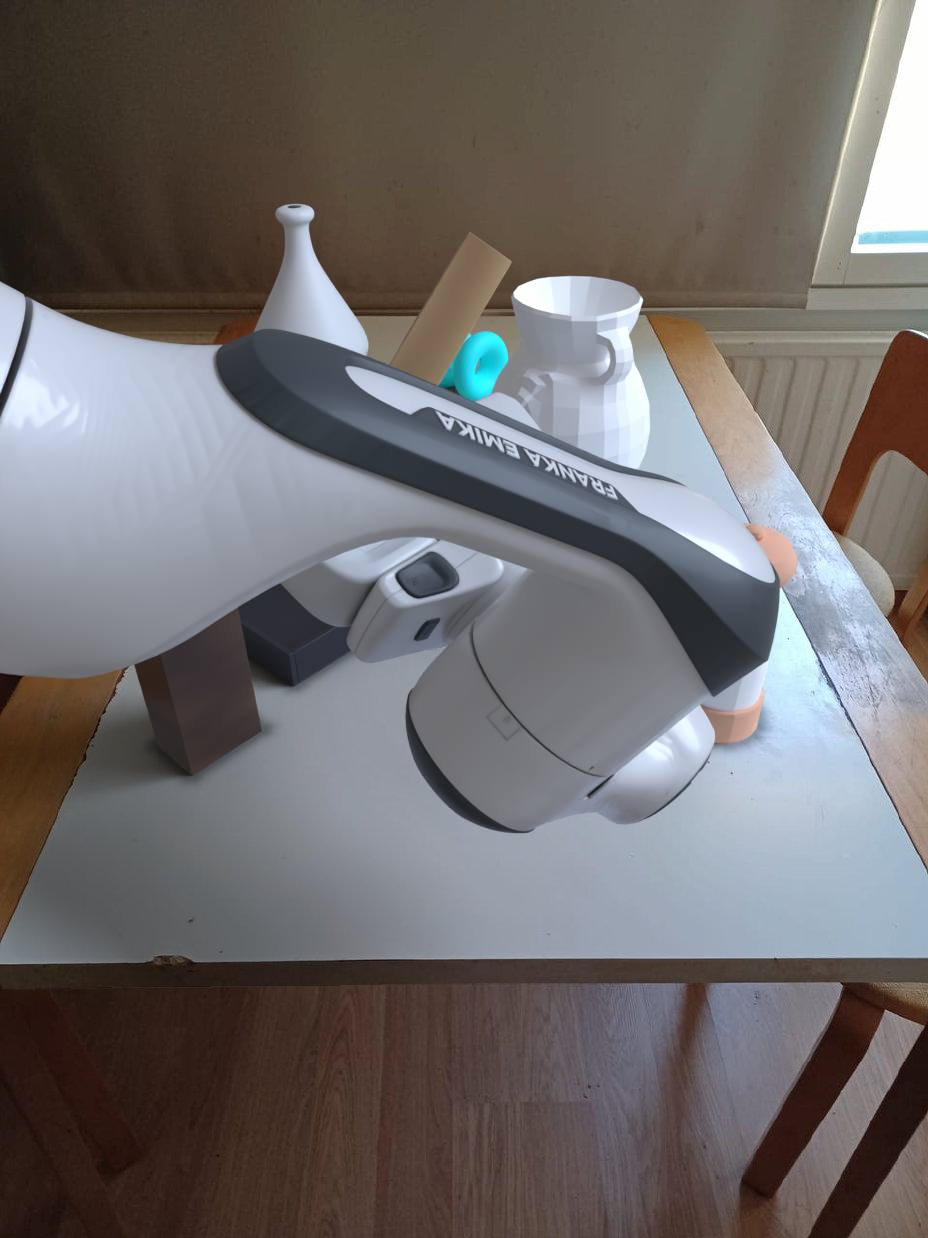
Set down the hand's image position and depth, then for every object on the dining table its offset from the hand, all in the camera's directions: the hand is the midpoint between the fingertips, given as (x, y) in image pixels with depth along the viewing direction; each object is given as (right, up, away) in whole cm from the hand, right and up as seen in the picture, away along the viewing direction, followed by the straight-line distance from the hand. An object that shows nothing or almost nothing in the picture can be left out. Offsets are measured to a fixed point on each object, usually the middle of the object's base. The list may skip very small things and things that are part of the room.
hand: (336, 399), depth 55 cm
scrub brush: (+5, +2, +1) cm, 5 cm away
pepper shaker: (+29, -22, +24) cm, 44 cm away
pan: (-10, -12, +37) cm, 40 cm away
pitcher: (+19, 0, +53) cm, 57 cm away
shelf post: (-14, -24, +22) cm, 35 cm away
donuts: (+8, +20, +80) cm, 83 cm away
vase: (-15, +23, +84) cm, 88 cm away
